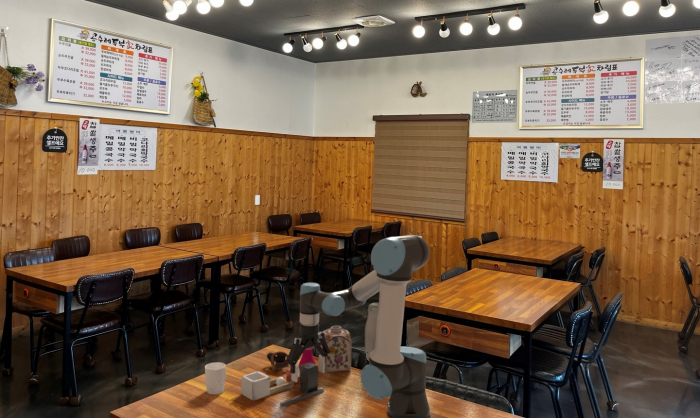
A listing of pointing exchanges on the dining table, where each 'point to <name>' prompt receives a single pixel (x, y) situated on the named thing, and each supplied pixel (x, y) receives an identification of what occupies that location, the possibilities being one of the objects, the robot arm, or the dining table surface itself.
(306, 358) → the pepper mill
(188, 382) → the dining table surface
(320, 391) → the rail
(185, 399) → the dining table surface
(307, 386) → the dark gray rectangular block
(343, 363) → the decorative jar
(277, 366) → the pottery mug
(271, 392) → the lane boards
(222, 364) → the white cup
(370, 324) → the pale grey bottle
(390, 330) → the robot arm
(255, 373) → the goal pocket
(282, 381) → the ball
